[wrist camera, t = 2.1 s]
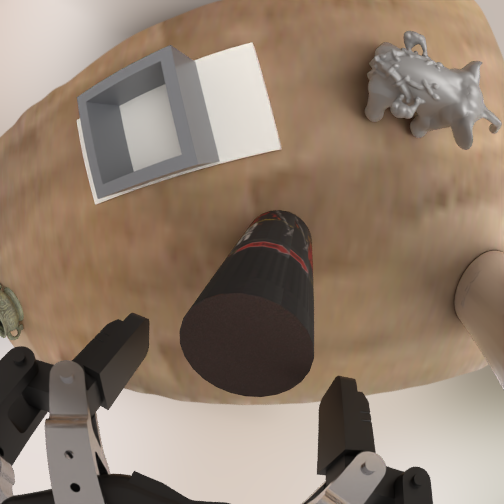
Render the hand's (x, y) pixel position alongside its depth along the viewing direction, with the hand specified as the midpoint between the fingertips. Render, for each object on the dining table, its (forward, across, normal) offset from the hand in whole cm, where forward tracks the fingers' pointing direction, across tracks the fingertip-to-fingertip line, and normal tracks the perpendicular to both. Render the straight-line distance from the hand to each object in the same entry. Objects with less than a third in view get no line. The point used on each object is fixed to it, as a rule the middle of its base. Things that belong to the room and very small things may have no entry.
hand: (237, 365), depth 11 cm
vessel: (+17, +46, +27) cm, 56 cm away
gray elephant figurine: (+16, -9, -17) cm, 25 cm away
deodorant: (+16, 0, 0) cm, 16 cm away
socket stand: (+16, +13, -8) cm, 22 cm away
